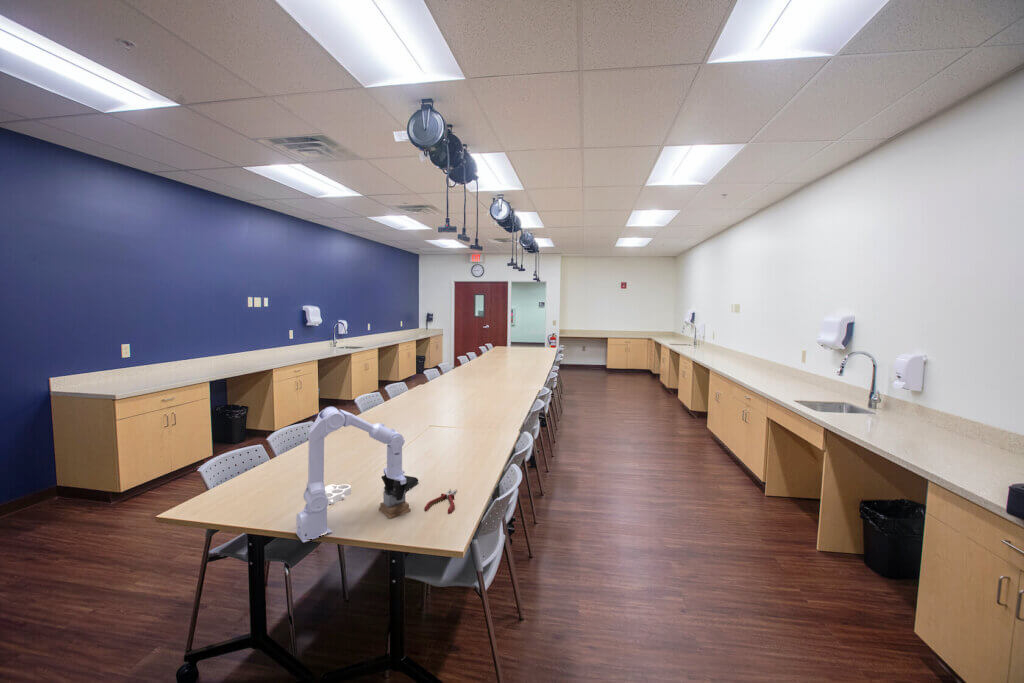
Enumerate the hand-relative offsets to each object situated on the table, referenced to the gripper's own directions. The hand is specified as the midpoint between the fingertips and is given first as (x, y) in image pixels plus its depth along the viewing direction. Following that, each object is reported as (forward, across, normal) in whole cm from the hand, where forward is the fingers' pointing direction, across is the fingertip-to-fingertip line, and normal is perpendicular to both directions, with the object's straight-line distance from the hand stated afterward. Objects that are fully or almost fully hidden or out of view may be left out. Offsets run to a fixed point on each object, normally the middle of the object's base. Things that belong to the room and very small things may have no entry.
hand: (394, 496), depth 160 cm
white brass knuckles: (+7, +28, +15) cm, 33 cm away
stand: (+6, 0, 0) cm, 6 cm away
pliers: (+7, -8, -20) cm, 22 cm away
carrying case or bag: (+6, +18, -13) cm, 23 cm away
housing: (+3, 0, 0) cm, 3 cm away
